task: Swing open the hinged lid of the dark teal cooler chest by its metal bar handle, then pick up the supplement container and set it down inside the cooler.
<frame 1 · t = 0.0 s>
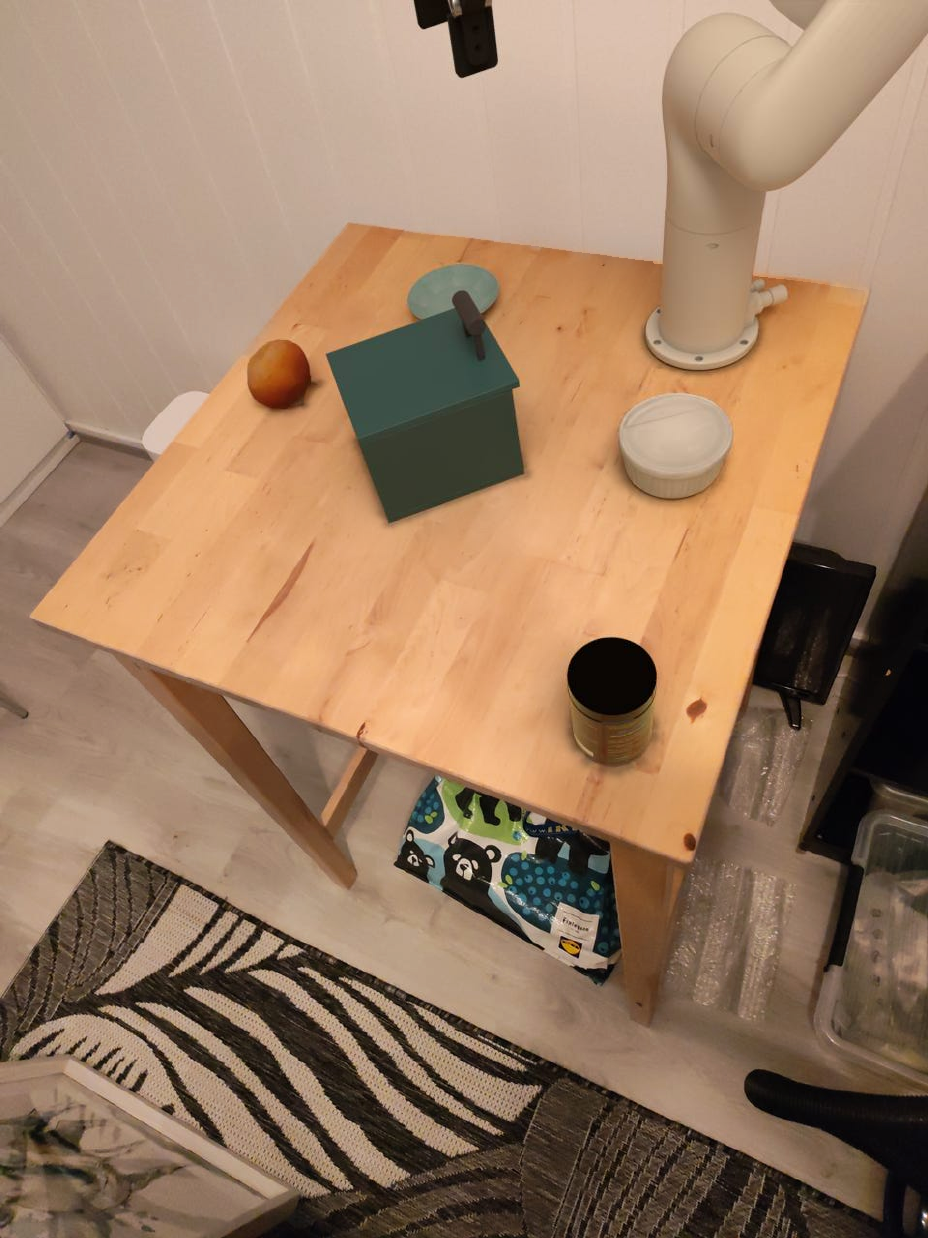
hand: (456, 45, 62), 37 cm above the table, tool pointing down, fingers open, 9 cm apart
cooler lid: (413, 349, 78), point 15 cm above the table, hinge at 0.0°
cooler: (438, 456, 90), on the table
supplement container: (612, 732, 69), on the table
ramekin: (672, 468, 84), on the table
saucer: (455, 308, 104), on the table
fruit: (288, 395, 100), on the table
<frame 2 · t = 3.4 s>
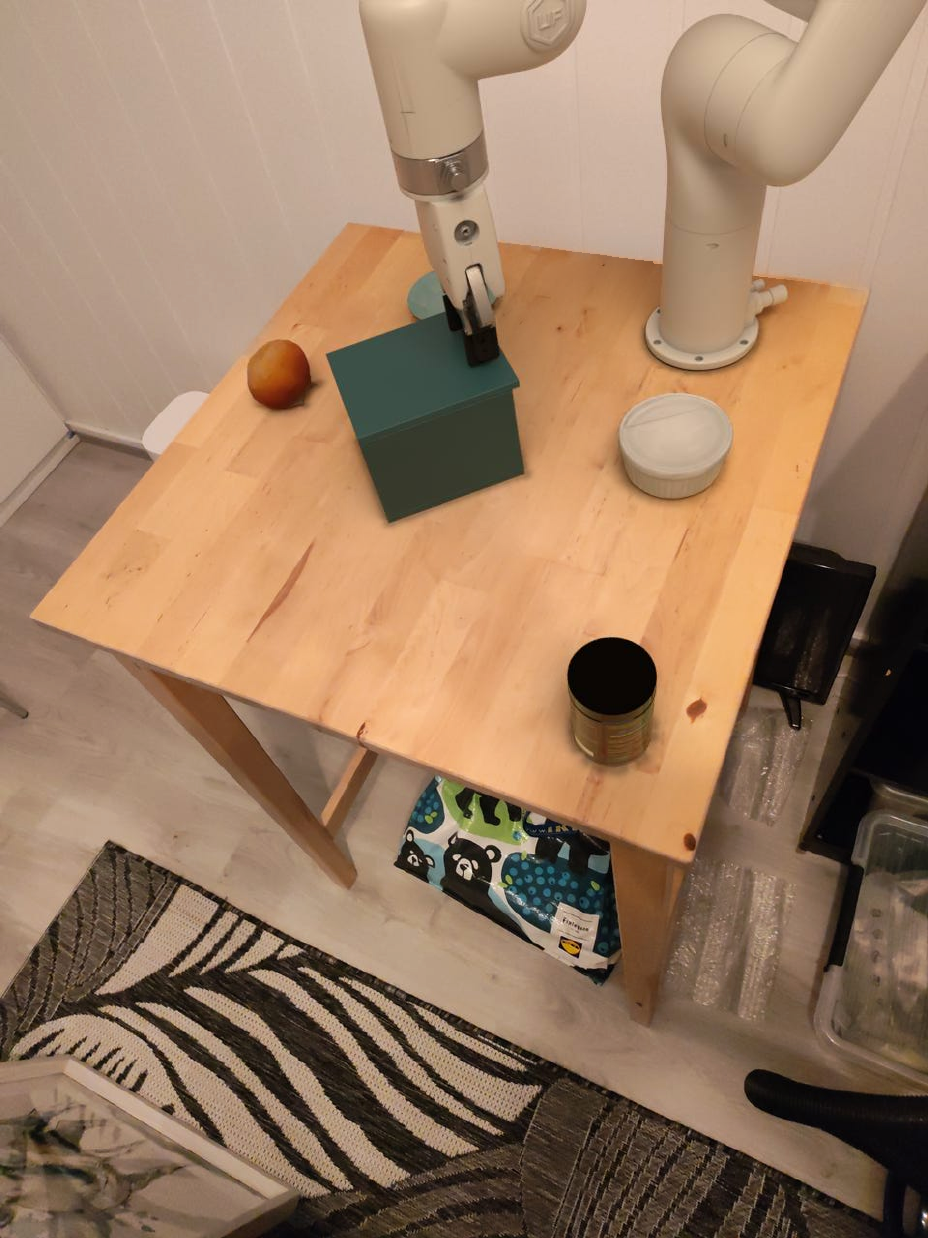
hand: (473, 341, 79), 13 cm above the table, tool pointing down, fingers closed on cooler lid, 5 cm apart
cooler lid: (413, 349, 78), point 15 cm above the table, hinge at 0.0°, touching gripper
everything else where it was.
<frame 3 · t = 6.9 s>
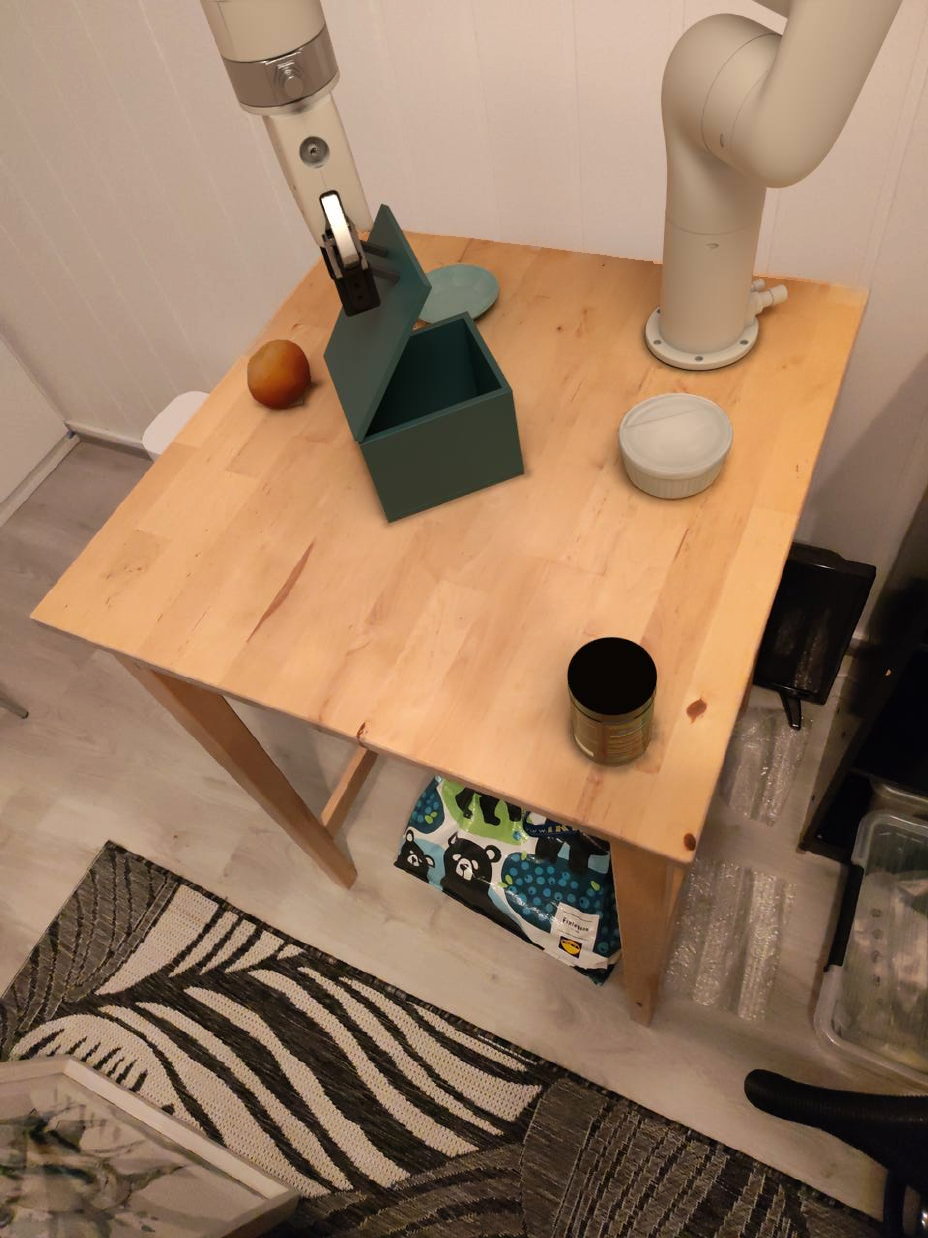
hand: (354, 289, 71), 23 cm above the table, tool pointing down, fingers closed on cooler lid, 5 cm apart
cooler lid: (347, 319, 73), point 20 cm above the table, hinge at 53.1°, touching gripper
everything else where it was.
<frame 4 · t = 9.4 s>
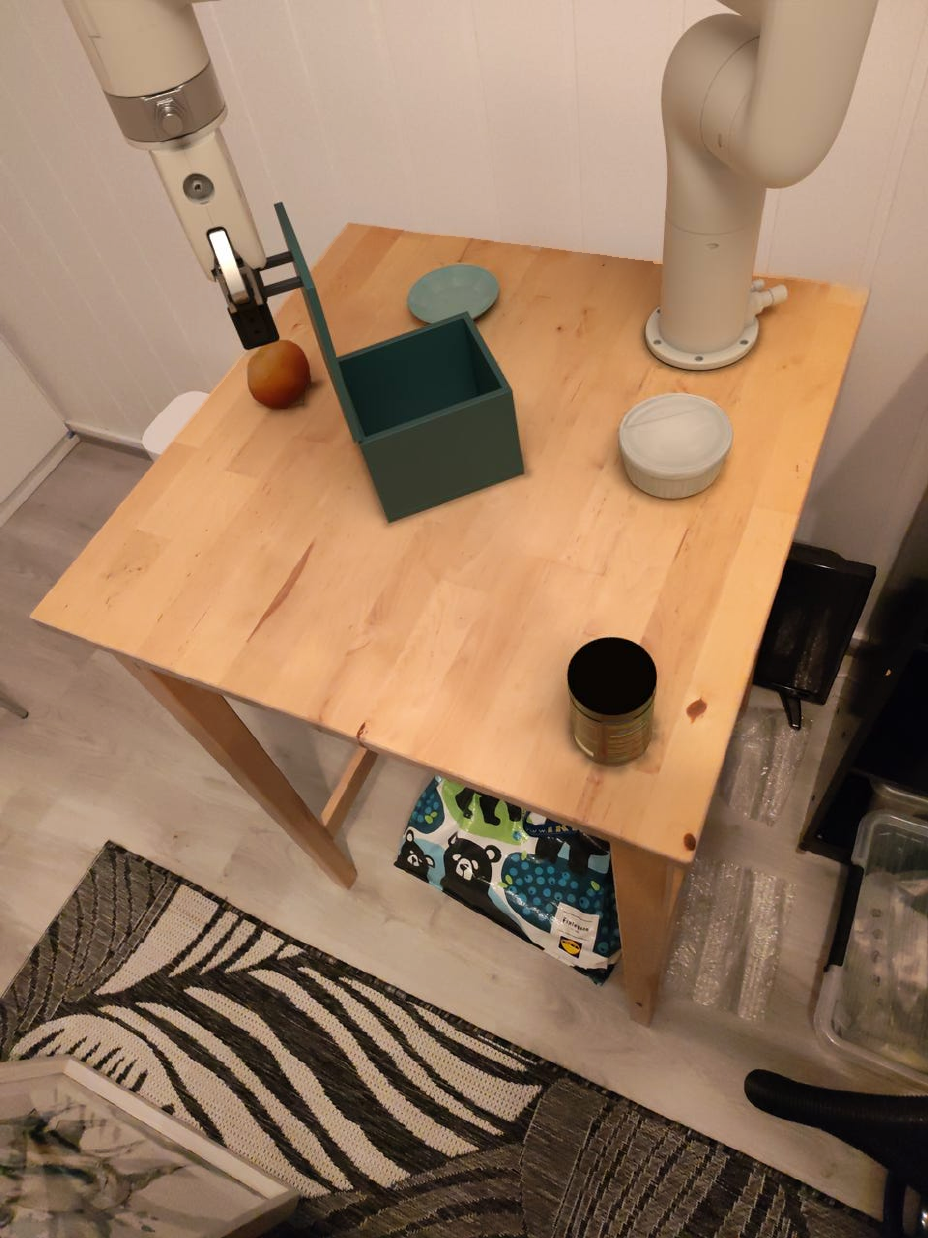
hand: (255, 322, 70), 23 cm above the table, tool pointing down, fingers closed on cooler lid, 5 cm apart
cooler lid: (294, 335, 72), point 21 cm above the table, hinge at 87.3°, touching gripper
everything else where it was.
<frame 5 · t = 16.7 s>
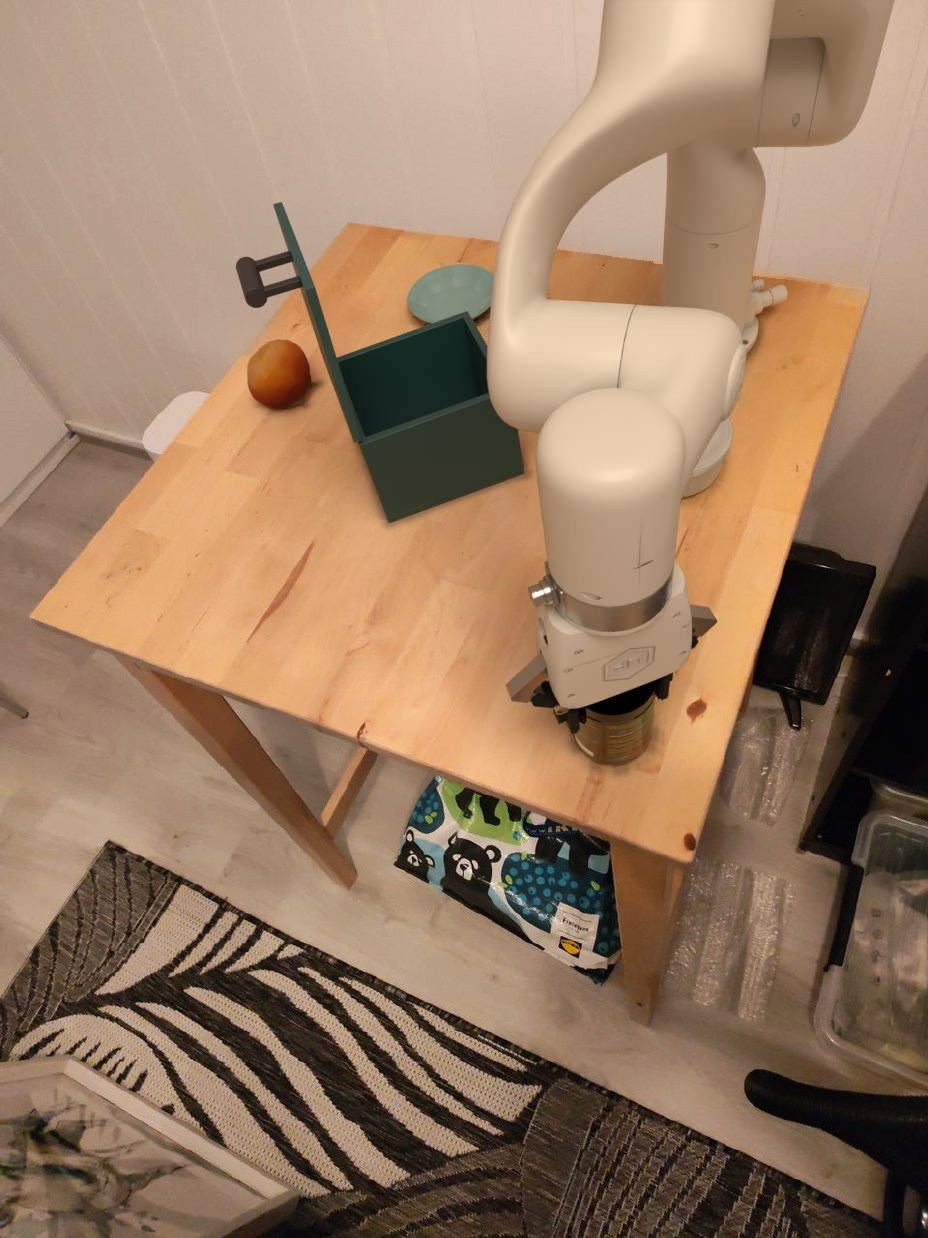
hand: (611, 700, 64), 6 cm above the table, tool pointing down, fingers closed on supplement container, 6 cm apart
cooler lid: (294, 335, 72), point 21 cm above the table, hinge at 87.4°
supplement container: (612, 732, 69), on the table, touching gripper
everything else where it was.
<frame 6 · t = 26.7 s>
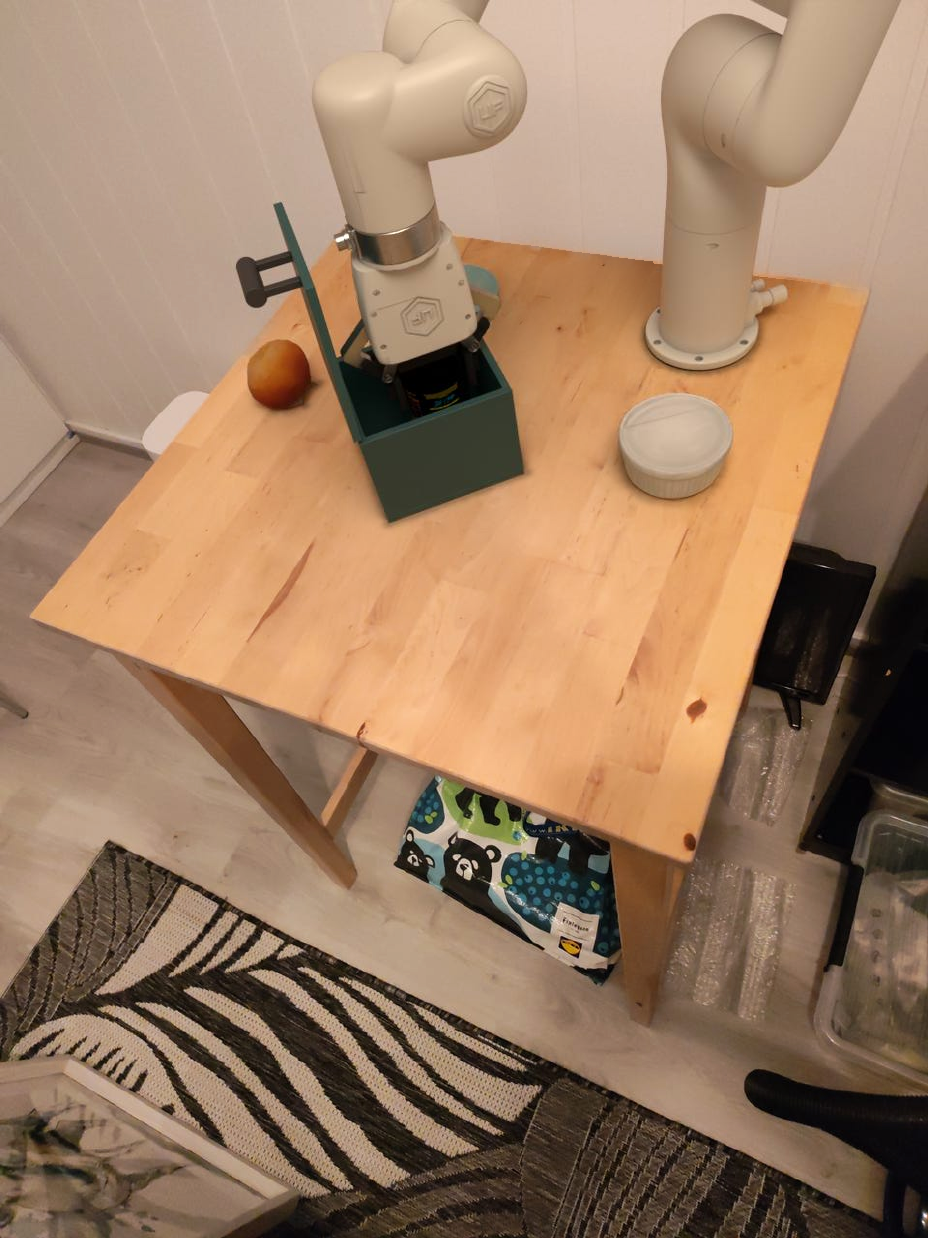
hand: (435, 388, 82), 9 cm above the table, tool pointing down, fingers closed on supplement container, 6 cm apart
supplement container: (447, 433, 87), point 3 cm above the table, touching gripper
everything else where it was.
when the fingers open (12 cm above the table, at t = 46.0 s): supplement container drops 5 cm, resting on cooler.
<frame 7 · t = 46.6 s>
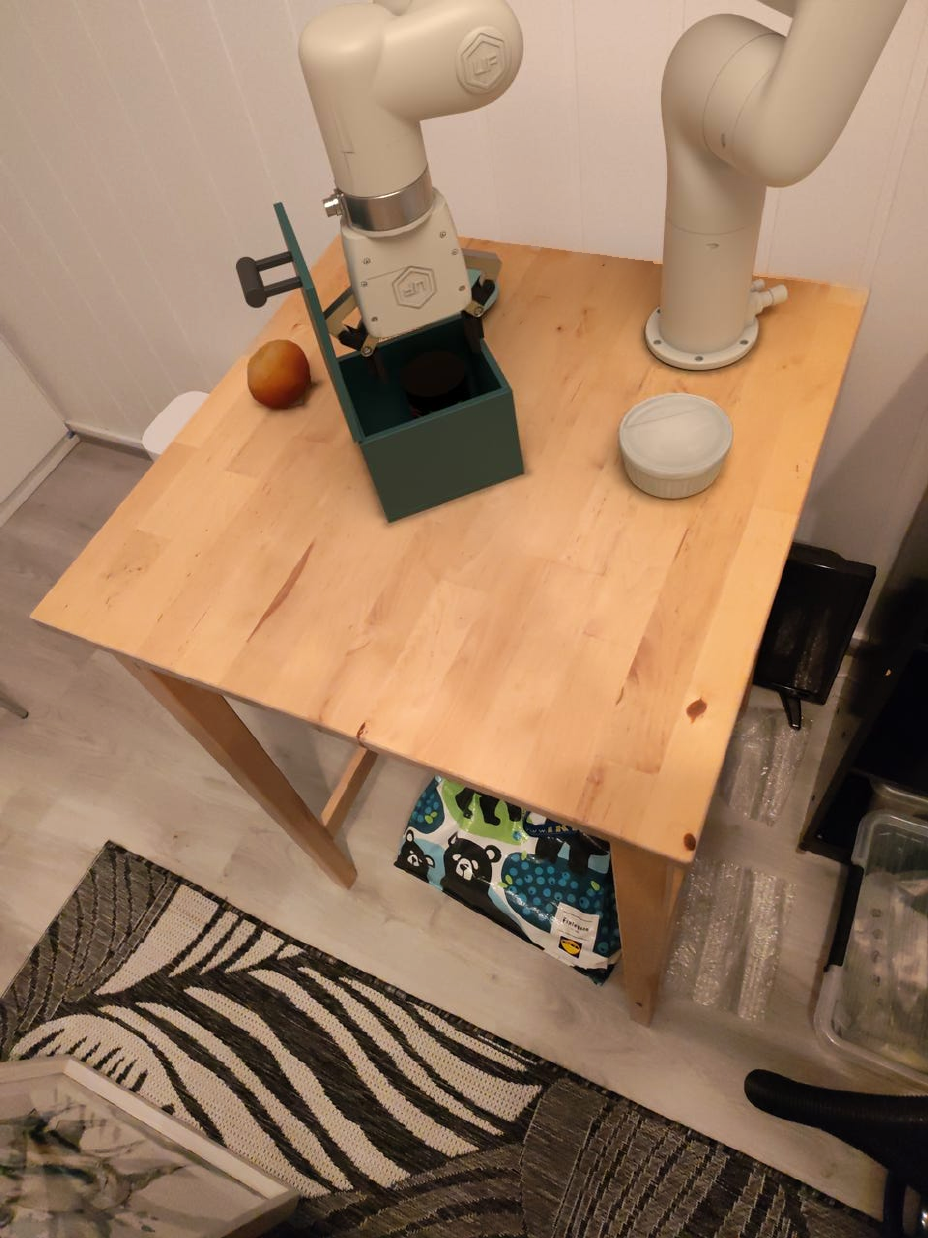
hand: (428, 361, 79), 13 cm above the table, tool pointing down, fingers open, 9 cm apart
supplement container: (451, 447, 89), point 1 cm above the table, touching cooler
everything else where it was.
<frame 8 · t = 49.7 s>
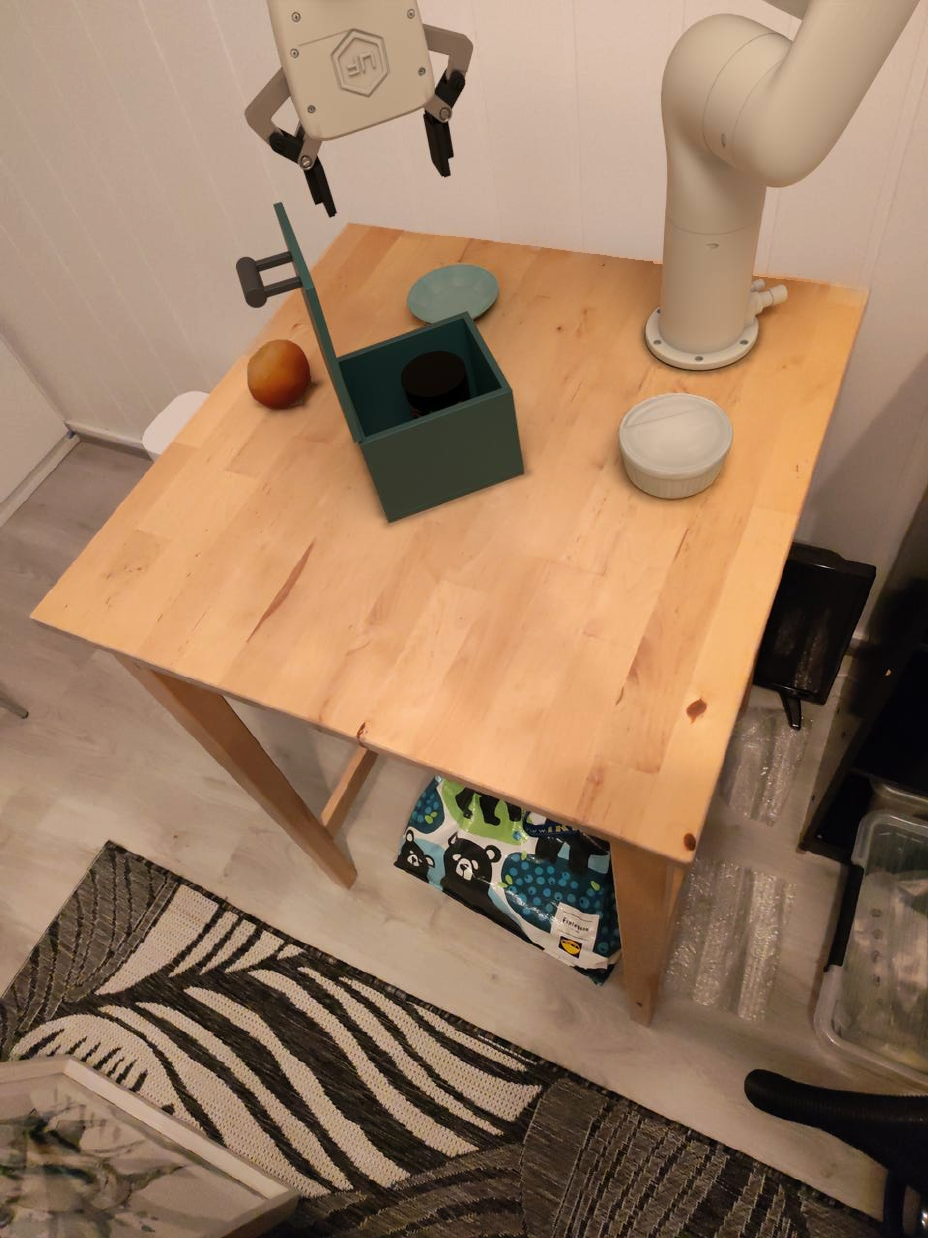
hand: (385, 188, 65), 30 cm above the table, tool pointing down, fingers open, 9 cm apart
nothing on the table moved.
at the end: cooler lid at +87° (first picture: +0°); supplement container inside the target area in the cooler (1.7 cm from its centre), point 0.6 cm above the cooler's base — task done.
